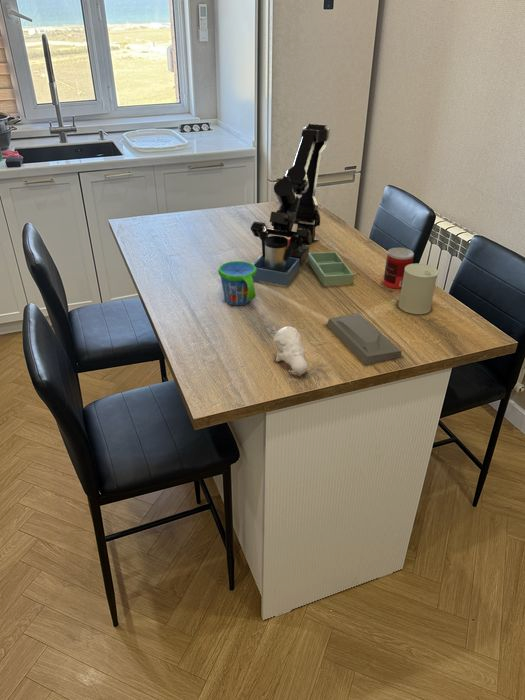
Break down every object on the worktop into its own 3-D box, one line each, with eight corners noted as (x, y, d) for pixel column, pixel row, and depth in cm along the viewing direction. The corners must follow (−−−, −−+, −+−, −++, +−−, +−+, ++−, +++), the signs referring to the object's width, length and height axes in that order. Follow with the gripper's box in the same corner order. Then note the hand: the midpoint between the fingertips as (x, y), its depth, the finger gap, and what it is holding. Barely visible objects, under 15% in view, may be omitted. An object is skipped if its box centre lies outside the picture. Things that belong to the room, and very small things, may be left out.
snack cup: (210, 292, 163) (209, 260, 157) (243, 286, 167) (243, 255, 161) (231, 316, 151) (231, 282, 145) (265, 308, 155) (266, 275, 149)
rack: (307, 263, 182) (308, 252, 180) (334, 261, 184) (335, 251, 182) (323, 287, 167) (324, 276, 165) (352, 285, 169) (354, 274, 167)
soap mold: (365, 364, 132) (367, 352, 130) (326, 325, 148) (327, 314, 146) (401, 356, 136) (403, 344, 134) (359, 319, 151) (361, 307, 149)
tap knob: (287, 246, 186) (287, 234, 184) (298, 248, 185) (299, 235, 183) (283, 250, 183) (284, 238, 181) (294, 252, 182) (295, 240, 179)
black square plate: (281, 250, 191) (281, 241, 189) (308, 254, 188) (309, 246, 186) (271, 260, 183) (272, 251, 181) (300, 265, 180) (300, 256, 179)
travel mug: (283, 269, 176) (285, 235, 170) (288, 278, 170) (289, 243, 164) (262, 270, 175) (263, 236, 169) (266, 280, 169) (266, 244, 163)
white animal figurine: (297, 321, 132) (318, 350, 123) (294, 349, 137) (313, 379, 128) (272, 325, 130) (292, 355, 121) (270, 353, 135) (288, 384, 126)
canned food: (410, 283, 171) (416, 250, 165) (404, 293, 165) (410, 259, 159) (386, 278, 174) (391, 245, 168) (379, 288, 168) (385, 254, 162)
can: (412, 317, 153) (420, 278, 146) (391, 303, 159) (397, 265, 153) (437, 310, 156) (446, 271, 150) (416, 296, 163) (423, 259, 157)
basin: (263, 265, 180) (263, 252, 177) (299, 272, 176) (299, 258, 174) (249, 280, 170) (249, 267, 167) (287, 287, 166) (287, 273, 164)
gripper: (252, 195, 166) (239, 242, 163) (312, 203, 161) (298, 252, 158) (261, 213, 177) (248, 257, 174) (317, 221, 171) (304, 267, 169)
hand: (274, 258), depth 168 cm, fingers closed on travel mug, 7 cm apart
